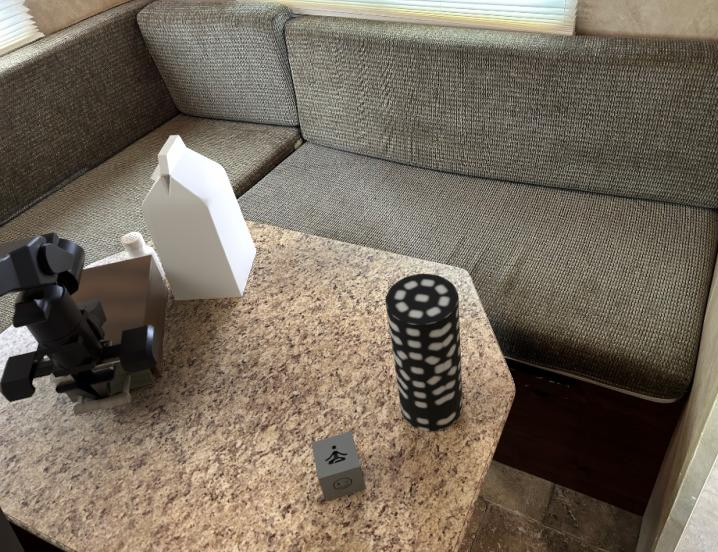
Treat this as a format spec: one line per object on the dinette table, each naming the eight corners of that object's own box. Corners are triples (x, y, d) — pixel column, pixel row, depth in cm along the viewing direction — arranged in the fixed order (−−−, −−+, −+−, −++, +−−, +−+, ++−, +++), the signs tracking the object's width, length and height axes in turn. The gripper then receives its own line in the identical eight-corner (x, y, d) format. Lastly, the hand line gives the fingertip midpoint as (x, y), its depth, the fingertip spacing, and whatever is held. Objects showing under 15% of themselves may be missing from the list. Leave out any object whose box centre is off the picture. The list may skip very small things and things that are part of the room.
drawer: (152, 409, 84) (135, 380, 80) (66, 430, 82) (45, 402, 78) (161, 298, 102) (148, 270, 98) (91, 314, 100) (75, 286, 96)
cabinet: (161, 376, 90) (141, 339, 84) (73, 397, 88) (47, 361, 83) (168, 290, 104) (151, 254, 99) (92, 307, 103) (72, 271, 98)
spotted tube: (393, 424, 80) (375, 318, 67) (410, 375, 86) (397, 269, 73) (455, 437, 77) (449, 330, 65) (468, 385, 83) (465, 278, 71)
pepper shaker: (149, 289, 105) (128, 247, 99) (134, 282, 107) (113, 240, 101) (167, 276, 107) (148, 233, 101) (152, 269, 109) (133, 227, 103)
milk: (241, 297, 101) (194, 163, 85) (175, 300, 102) (115, 168, 86) (256, 251, 111) (216, 122, 94) (195, 254, 111) (145, 127, 95)
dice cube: (325, 501, 72) (318, 478, 69) (318, 464, 76) (311, 442, 73) (366, 488, 73) (360, 466, 70) (357, 453, 77) (351, 430, 74)
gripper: (140, 265, 81) (178, 341, 92) (-6, 296, 79) (49, 371, 89) (133, 324, 73) (175, 400, 83) (-31, 361, 71) (33, 435, 81)
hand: (108, 399), depth 84 cm, fingers closed, pressing on drawer
